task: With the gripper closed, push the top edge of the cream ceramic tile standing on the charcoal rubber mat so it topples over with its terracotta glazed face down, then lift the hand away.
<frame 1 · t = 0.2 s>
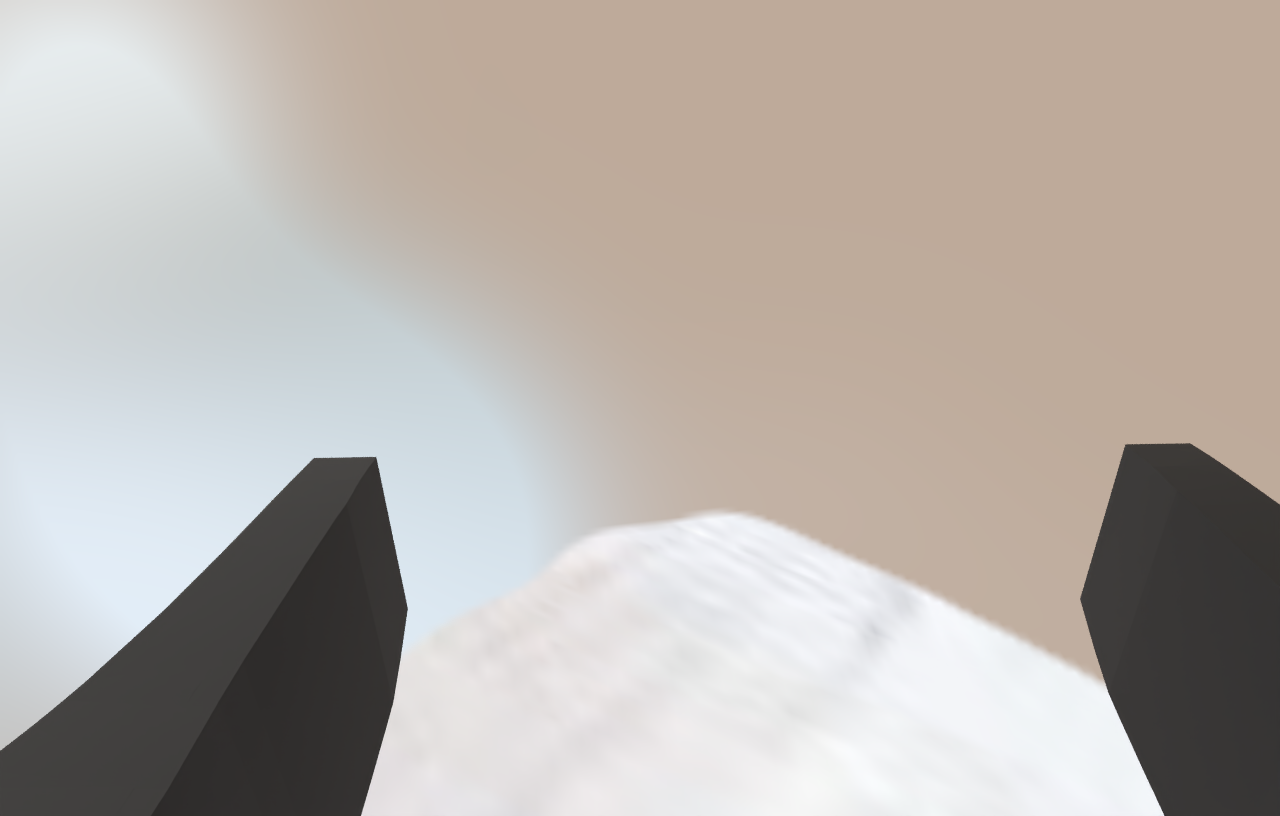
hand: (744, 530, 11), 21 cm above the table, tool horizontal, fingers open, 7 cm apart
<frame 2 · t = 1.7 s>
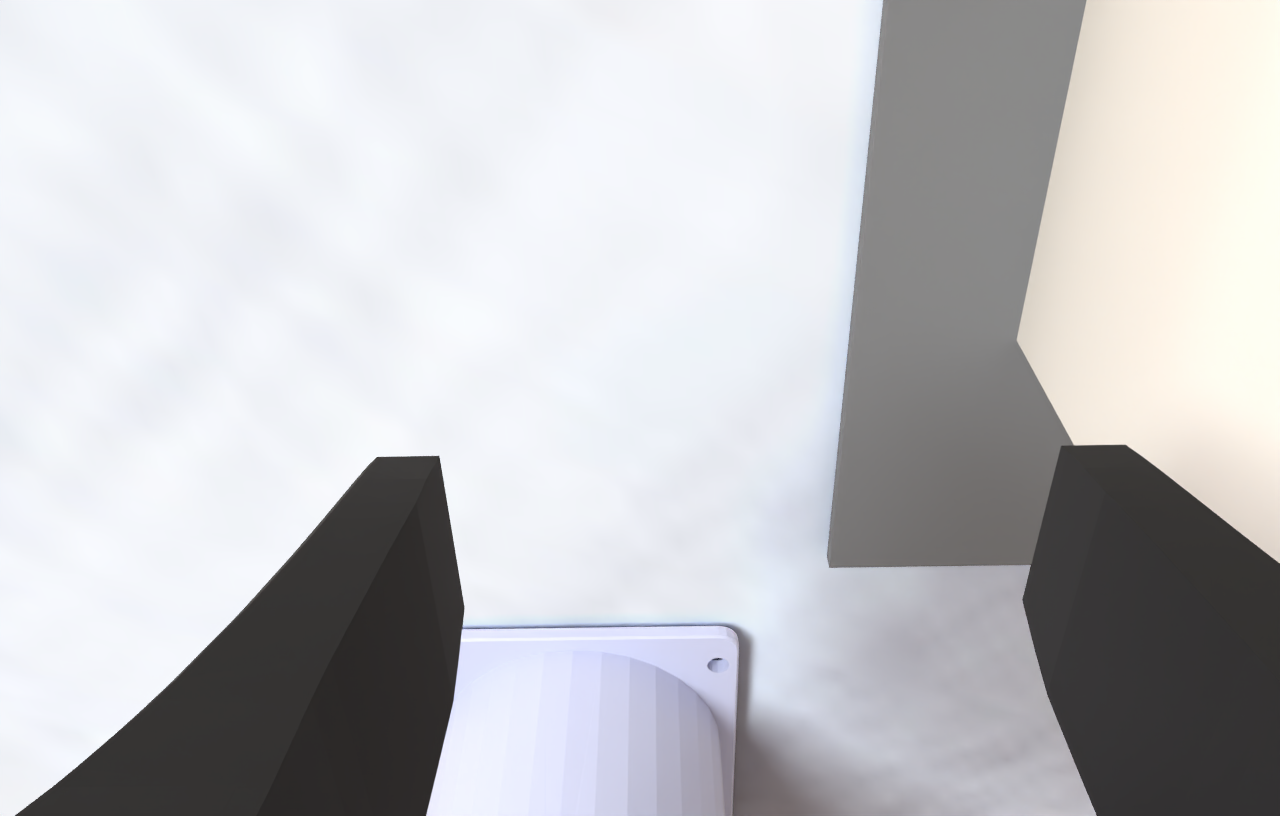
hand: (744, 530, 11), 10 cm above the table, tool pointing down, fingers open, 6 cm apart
tile: (1103, 143, 19), resting on mat
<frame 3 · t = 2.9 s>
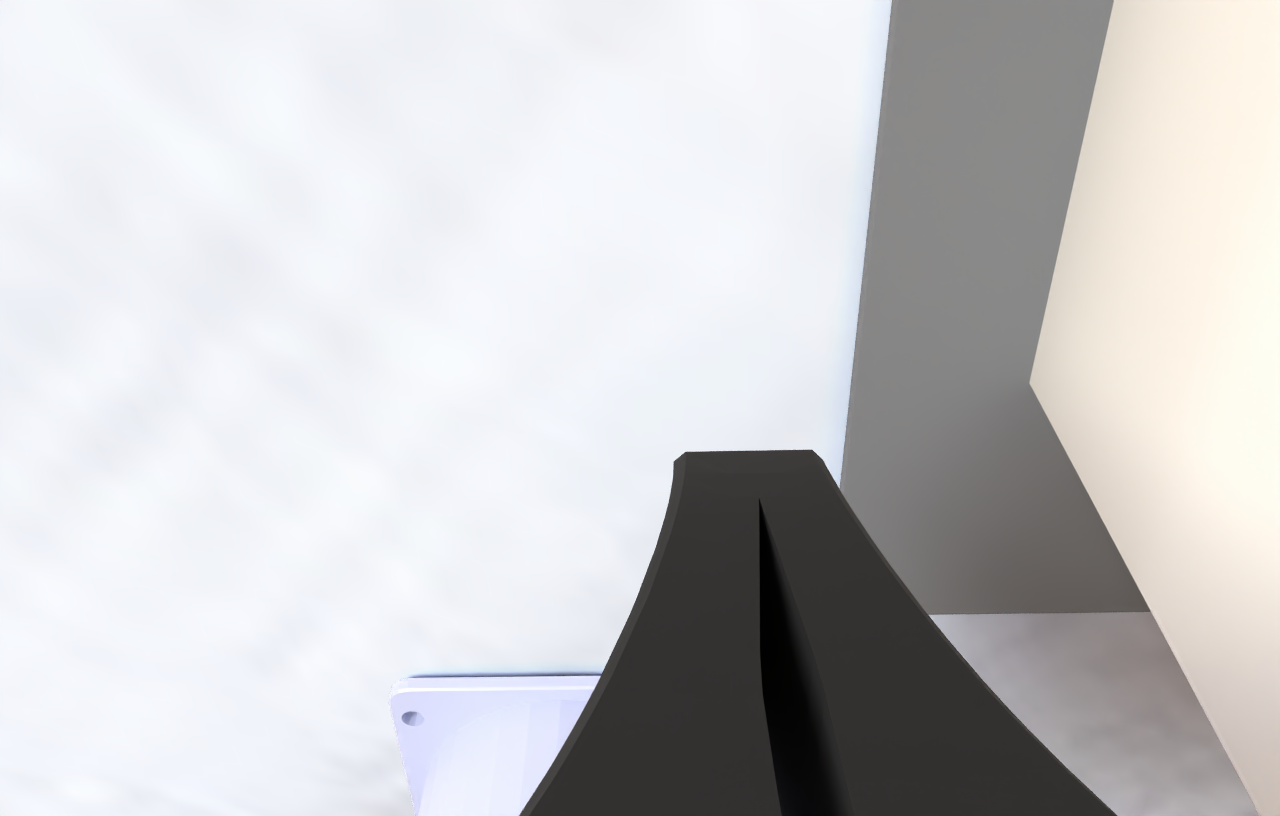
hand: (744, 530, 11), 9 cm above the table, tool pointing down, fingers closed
tile: (1123, 177, 17), resting on mat
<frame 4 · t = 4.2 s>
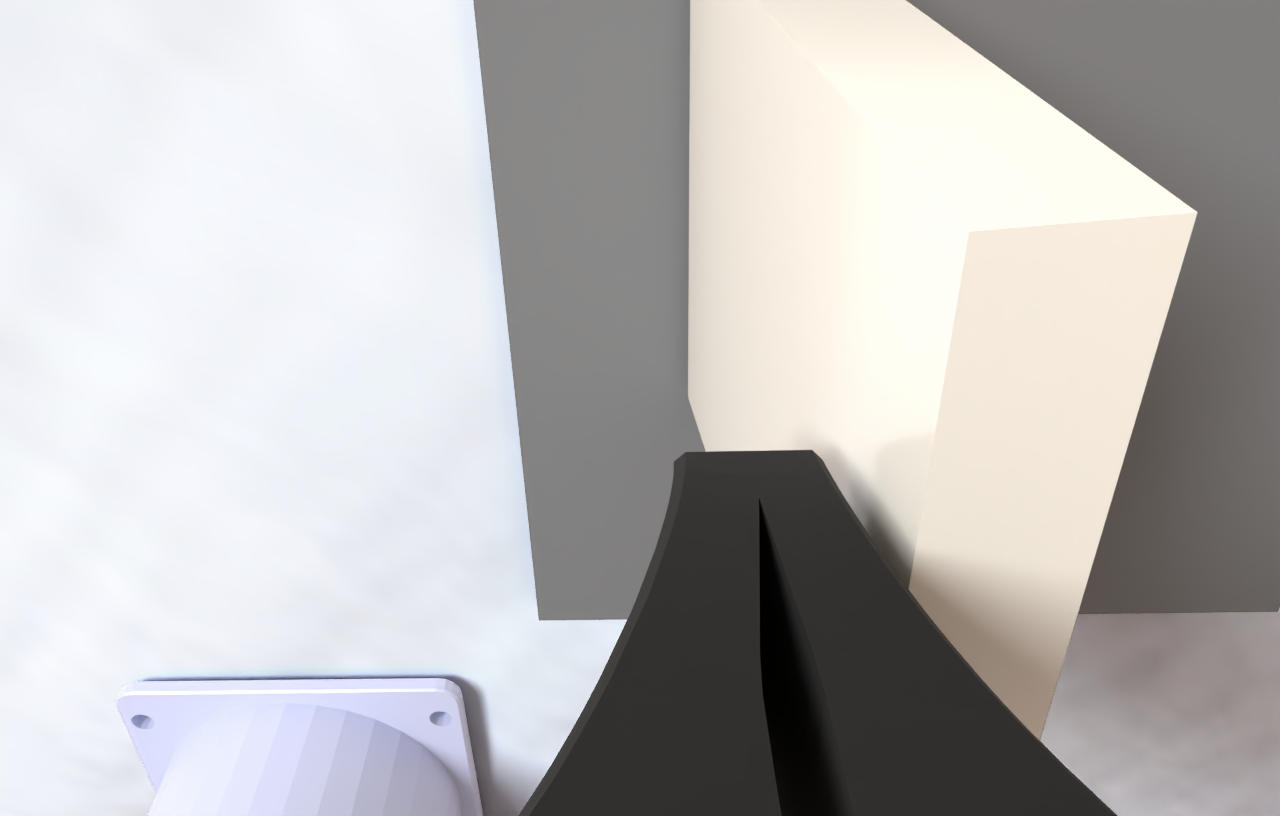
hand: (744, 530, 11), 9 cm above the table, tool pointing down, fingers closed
mat: (956, 279, 19), on the table
tile: (737, 190, 18), point 1 cm above the table, tilted 8°, touching mat
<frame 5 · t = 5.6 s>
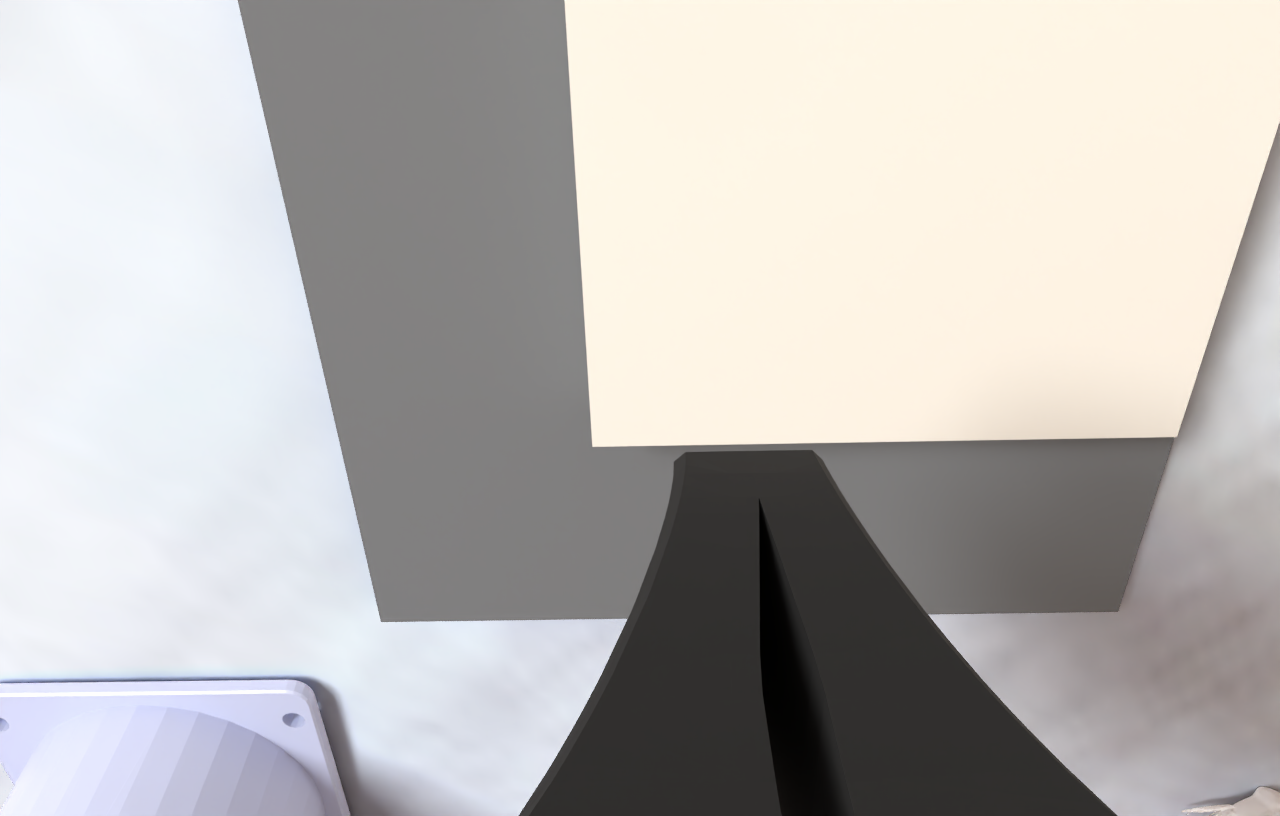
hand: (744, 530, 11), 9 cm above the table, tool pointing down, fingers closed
mat: (760, 281, 19), on the table
tile: (581, 212, 17), point 1 cm above the table, tilted 90°, touching mat
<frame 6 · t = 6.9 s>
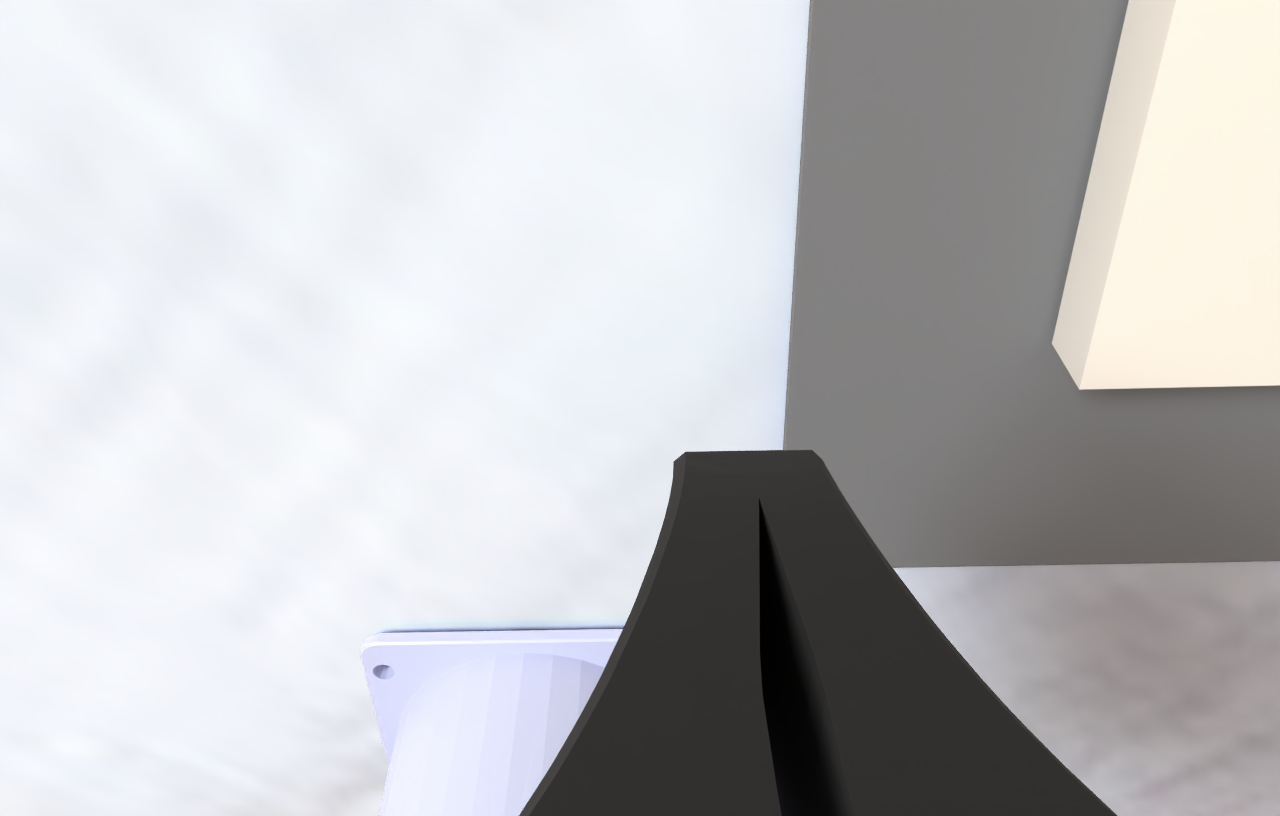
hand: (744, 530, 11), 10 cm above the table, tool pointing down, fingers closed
mat: (1225, 233, 20), on the table
tile: (1112, 163, 18), point 1 cm above the table, tilted 90°, touching mat
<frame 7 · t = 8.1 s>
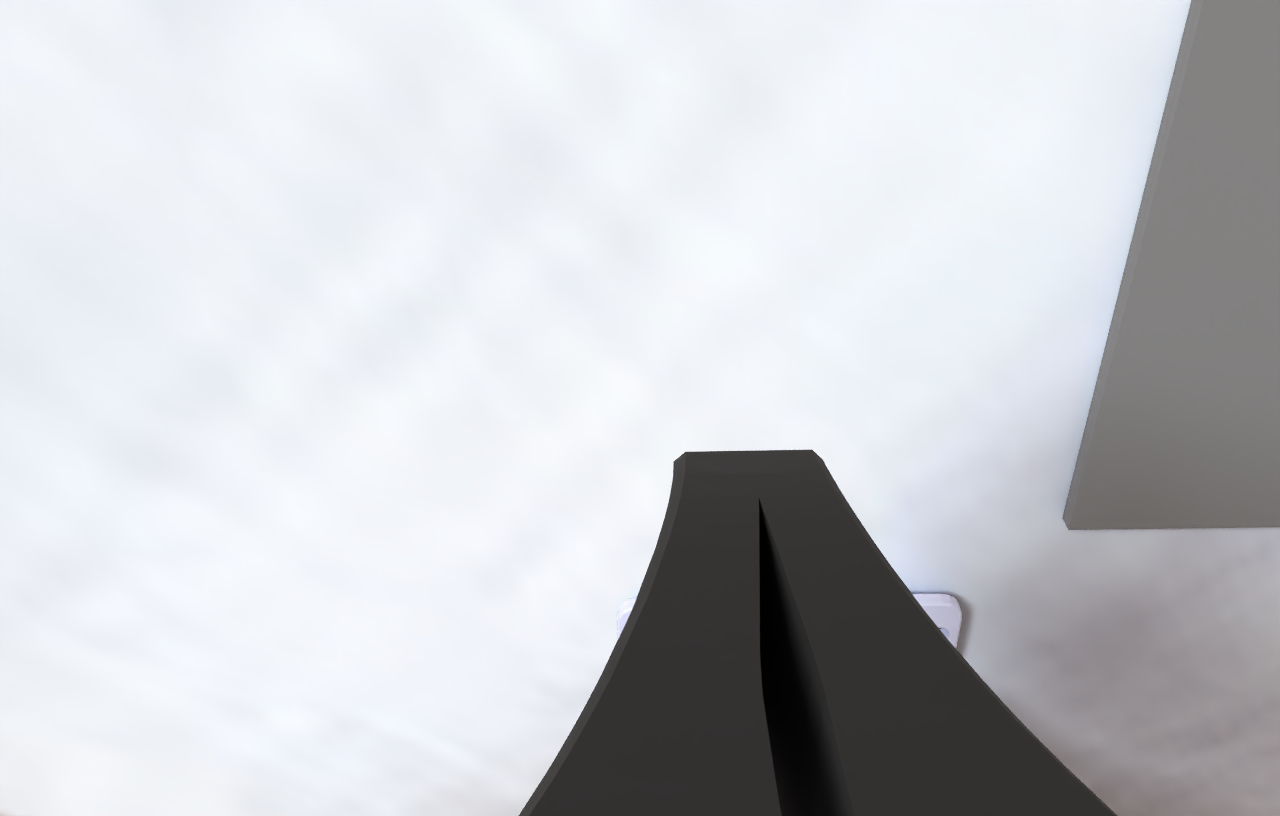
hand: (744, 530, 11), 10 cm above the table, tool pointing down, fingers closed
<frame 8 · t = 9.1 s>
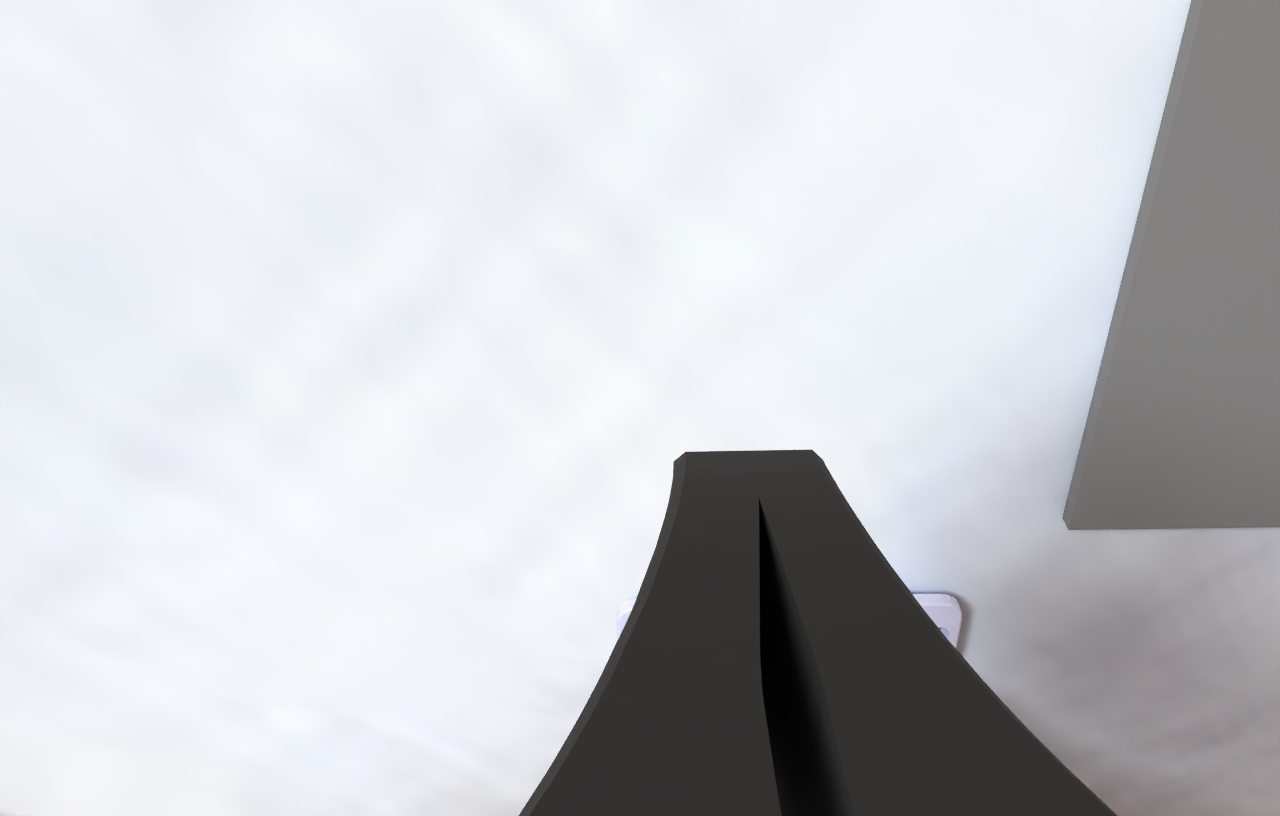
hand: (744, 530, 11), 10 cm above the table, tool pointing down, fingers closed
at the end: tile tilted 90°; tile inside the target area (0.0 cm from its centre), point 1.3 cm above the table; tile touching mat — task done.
